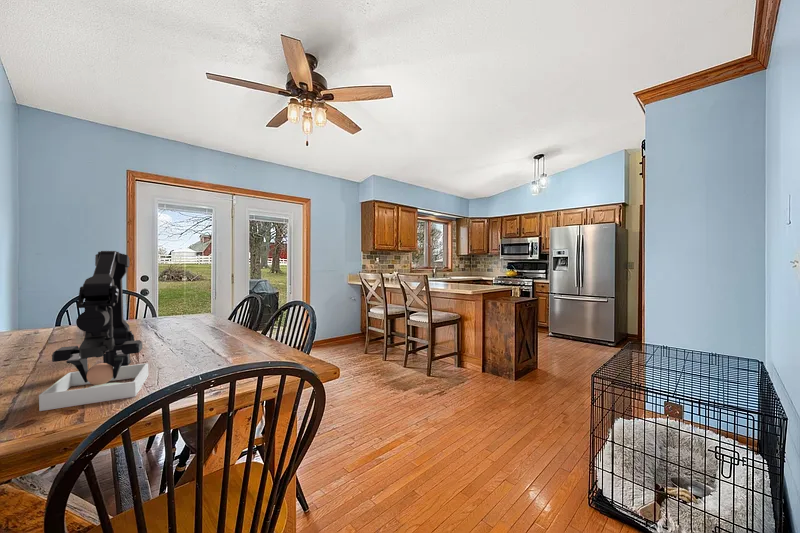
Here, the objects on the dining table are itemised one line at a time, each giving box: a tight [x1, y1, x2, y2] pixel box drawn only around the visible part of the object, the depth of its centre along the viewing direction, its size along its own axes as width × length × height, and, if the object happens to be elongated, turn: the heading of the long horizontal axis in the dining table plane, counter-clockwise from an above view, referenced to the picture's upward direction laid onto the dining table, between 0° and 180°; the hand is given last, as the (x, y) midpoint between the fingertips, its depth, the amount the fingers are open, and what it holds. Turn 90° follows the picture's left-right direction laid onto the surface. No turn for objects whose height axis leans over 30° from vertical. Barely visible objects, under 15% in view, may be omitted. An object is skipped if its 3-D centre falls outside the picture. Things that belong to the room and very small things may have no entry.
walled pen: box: [38, 362, 149, 412], centre depth 98 cm, size 19×19×4 cm
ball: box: [86, 362, 114, 386], centre depth 98 cm, size 6×6×6 cm
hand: (100, 380), depth 98 cm, fingers closed on ball, 6 cm apart
